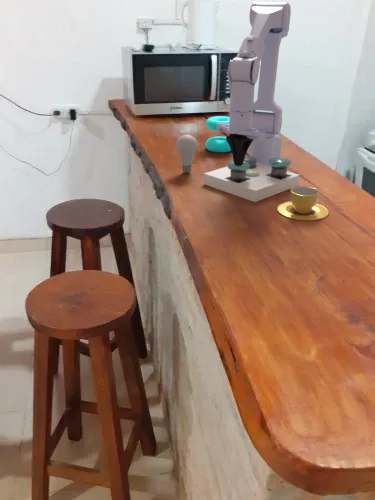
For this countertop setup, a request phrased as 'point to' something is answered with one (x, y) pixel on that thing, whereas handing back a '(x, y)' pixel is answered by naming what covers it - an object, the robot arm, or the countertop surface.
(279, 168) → the disc
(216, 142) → the donuts
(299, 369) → the countertop surface
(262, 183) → the instrument base
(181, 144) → the lightbulb
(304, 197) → the cup
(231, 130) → the robot arm
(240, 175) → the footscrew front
